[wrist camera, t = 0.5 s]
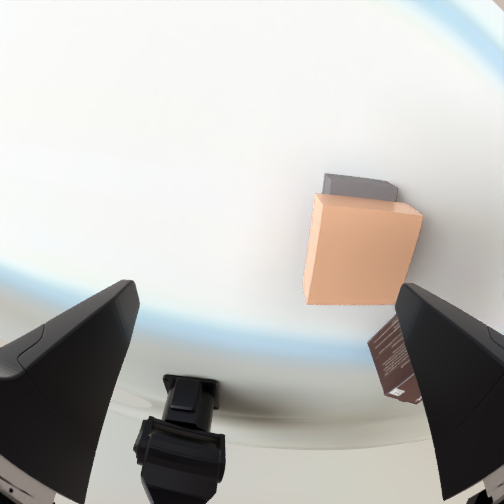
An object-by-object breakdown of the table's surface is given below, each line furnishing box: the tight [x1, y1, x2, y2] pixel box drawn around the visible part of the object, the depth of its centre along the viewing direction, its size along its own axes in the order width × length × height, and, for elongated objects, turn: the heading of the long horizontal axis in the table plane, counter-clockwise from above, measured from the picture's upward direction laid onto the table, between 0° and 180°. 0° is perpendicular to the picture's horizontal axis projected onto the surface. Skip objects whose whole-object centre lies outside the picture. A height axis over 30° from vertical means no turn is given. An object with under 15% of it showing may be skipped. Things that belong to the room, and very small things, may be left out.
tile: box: [302, 193, 423, 305], centre depth 18 cm, size 7×7×2 cm
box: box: [367, 314, 422, 404], centre depth 23 cm, size 6×6×7 cm
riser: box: [322, 174, 398, 202], centre depth 20 cm, size 9×5×2 cm, turn 178°
